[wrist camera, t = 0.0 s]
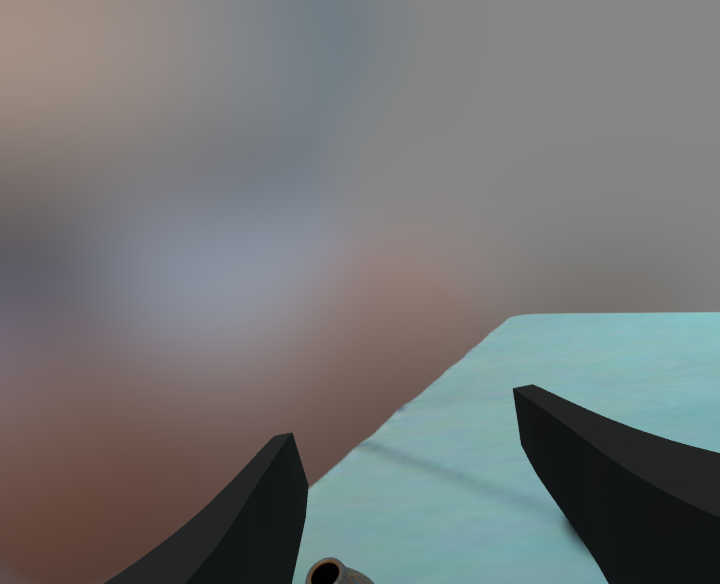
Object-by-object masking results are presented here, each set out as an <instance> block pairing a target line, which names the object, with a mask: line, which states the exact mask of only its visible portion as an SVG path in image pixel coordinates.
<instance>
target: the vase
mask: <svg viewBox="0 0 720 584" xmlns="http://www.w3.org/2000/svg"><path fill="white" fill-rule="evenodd" d="M305 584H374V583H373V582H372V581H371V580H370V579H369V578H368V577H367V576H365V575H364V574H362V573H360V572H358V571H356V570H354V569H351V568H348V567H346V566H344V564H343V563H342V562H341V561H339V560H338V559H336V558H324V559H322V560H320V561H318V562H317V563H315V564H314V565H313V566H312V567H311V569H310V570H309V572H308V574H307V577H306V582H305Z"/></svg>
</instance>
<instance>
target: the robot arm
mask: <svg viewBox="0 0 720 584" xmlns="http://www.w3.org/2000/svg"><path fill="white" fill-rule="evenodd" d="M513 394H514V400H515V407H516V414H517V420H518V427H519V434H520V440H521V445H522V447H523V449H524V451H525V453H526V455H527V457H528V459H529V461H530V463H531V465H532V466H533V468H534V470H535V472H536V474H537V475H538V477H539V478H540V480H541V481H542V483H543V484H544V486H545V487H546V489H547V490H548V492H549V493H550V495H551V496H552V497H553V499H554V500H555V502H556V503H557V505H558V506H559V508H560V509H561V510H562V512H563V513H564V515H565V516H566V518H567V519H568V520H569V522H570V523H571V525H572V526H573V528H574V529H575V531H576V532H577V533H578V535H579V536H580V538H581V539H582V541H583V542H584V544H585V545H586V547H587V548H588V550H589V551H590V553H591V554H592V556H593V558H594V559H595V561H596V562H597V564H598V566H599V567H600V569H601V571H602V573H603V574H604V576H605V578H606V580H607V581H608V583H609V584H720V453H717V452H713V451H709V450H705V449H701V448H697V447H693V446H689V445H686V444H682V443H679V442H675V441H672V440H668V439H665V438H662V437H659V436H656V435H653V434H650V433H647V432H643V431H641V430H638V429H635V428H632V427H629V426H627V425H624V424H622V423H619V422H616V421H614V420H611V419H609V418H606V417H604V416H601V415H599V414H597V413H594V412H592V411H590V410H587V409H585V408H583V407H581V406H578V405H576V404H574V403H572V402H570V401H568V400H565V399H563V398H561V397H559V396H557V395H555V394H553V393H551V392H548V391H546V390H544V389H542V388H540V387H537V386H535V385H527V386H522V387H517V388H513ZM307 497H308V482H307V479H306V476H305V473H304V469H303V466H302V463H301V459H300V456H299V453H298V449H297V446H296V443H295V440H294V436H293V433H287V434H282V435H277V436H274V437H273V438H272V439H271V440H270V441H269V442H268V443H267V444H266V445H265V446H264V447H263V448H262V449H261V450H260V451H259V452H258V453H257V455H256V456H255V457H254V458H253V459H252V460H251V461H250V462H249V463H248V464H247V465H246V466H245V467H244V469H243V470H242V471H241V472H240V473H239V474H238V475H237V476H236V477H235V478H234V479H233V480H232V481H231V482H230V483H229V484H228V485H227V486H226V487H225V488H224V489H223V490H222V491H221V492H220V493H219V494H218V495H217V496H216V497H215V498H214V499H213V500H212V501H211V502H210V503H209V504H208V505H207V506H206V507H205V508H204V509H202V510H201V511H200V512H199V513H198V514H197V515H196V516H195V517H193V518H192V519H191V520H190V521H189V522H187V523H186V524H185V525H184V526H183V527H182V528H180V529H179V530H178V531H177V532H175V533H174V534H173V535H172V536H171V537H169V538H168V539H167V540H165V541H164V542H162V543H161V544H160V545H159V546H157V547H156V548H154V549H153V550H152V551H150V552H149V553H148V554H146V555H145V556H144V557H142V558H141V559H140V560H138V561H137V562H136V563H134V564H133V565H131V566H130V567H128V568H127V569H125V570H124V571H122V572H121V573H119V574H118V575H116V576H115V577H113V578H112V579H110V580H108V581H107V582H105V583H104V584H292V580H293V575H294V571H295V566H296V561H297V557H298V552H299V547H300V543H301V538H302V533H303V528H304V523H305V518H306V509H307Z"/></svg>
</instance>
